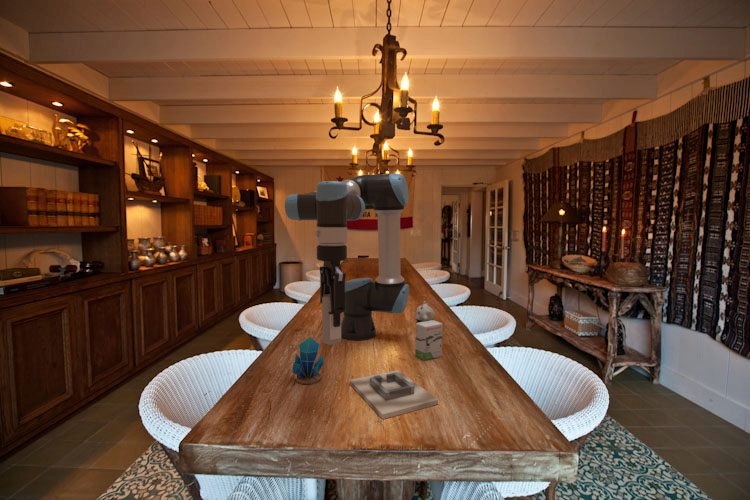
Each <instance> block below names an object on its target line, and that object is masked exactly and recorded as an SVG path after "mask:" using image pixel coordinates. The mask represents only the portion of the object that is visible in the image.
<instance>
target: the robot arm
mask: <svg viewBox="0 0 750 500" xmlns="http://www.w3.org/2000/svg"><path fill="white" fill-rule="evenodd" d="M409 198H410V193H409V186H408V183H407V179H406V178H405V176H404V175H403V174H400V173H381V174H380V173H378V174H377V173H376V174H361V175H357V176H355V177H350V178H348V179H344V180H342V181H339V180H336V181H334V180H333V181H332V180H328V181H327V180H326V181H325V180H324V181H319V182H318V183H317V184H316V190H314V191H310V192H307V193H292V194H289V195H288V196H286V199H285V201H284V212H285V215H286V216H287V218H288V219H290V220H292V221H300V222H301V221H316V231H314V235H315V236H316V243H318V245H317V246H316V259H317V260H318V261H320V262H323V264H322V265H321V266H319V268H318V269H319V283H320V285H319V287H320V289H319V291H320V293H319V298H320V299H319V302H320V304H322V298H323V295H325V294H330V302H331V312H328V313H329V314H330V340H333V339H340V338H341V339H346V340H350V341H351V340H352V341H363V340H369V339H373V338H375V337H376V333H377V329H376V325H375V322H374V319H373V314H372V313H373V312H378V313H386V314H387V313H388V314H402V313H403V312H404V311H405V310H406V308H407V304H408V301H409V298H410V297H409V295H410V285H409V284H407V283H405V282H406V281H405V278H404V277H403V276H402V275H401V274H402V272H401V214H402V212H404V211H405V206H407V205H408V204H409V201H410V200H409ZM366 206H372V207H373V212H374V213H375V214H376V215H377V248H378V251H377V252H378V276H377V277H376V278H375V280H374V281H373V278H371V277H359V278H352V279H350V280H346V276H347V274H346V272H345V271H342V270H343V269H342V266H341V265H342V264H341V261H345V260H347V259H348V247H347V245H346V243H348V222H354V221H358V220H359V219H361V218H362V217H363V215H364V214H365V211H366ZM342 314H343V317H342Z"/></svg>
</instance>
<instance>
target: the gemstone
mask: <svg viewBox="0 0 750 500" xmlns="http://www.w3.org/2000/svg"><path fill="white" fill-rule="evenodd" d="M320 345H321V344H320V343H318V342H317V341H316V340H315V339H313V338H312V336H311V337H308V338H306V339H305V340H304V341H302V342H301V343H299V355H298V354H297V353H296V354H295V357H294V358H295V359H294V361H293V364H292V371H291V373H292V374H294V375H296V376H295V380H296V382H297V383H299V384H301V385H308V386H309V385H313V384H317V383H319V382H320V381H321V380H322V379H321V378H322V375H321V374H320V373H319V371H320V370H322V367H323V366H324V364H325V362H324V354H322V355H320V356H319V357H318V358H317V356H318V353H319V349H320ZM316 359H317V360H316Z"/></svg>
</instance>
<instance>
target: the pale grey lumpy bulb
mask: <svg viewBox="0 0 750 500" xmlns="http://www.w3.org/2000/svg"><path fill="white" fill-rule="evenodd" d="M435 314H436V313H435V310H434V309H433V308H432V307H431V306H429V304H428V301H425V300H424V301H423V303H422V304H421V305H419V306H417V308H416V314H415V319H416V320H418V321H420V322H425V321H431V320H434V318H435Z"/></svg>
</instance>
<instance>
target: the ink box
mask: <svg viewBox="0 0 750 500" xmlns="http://www.w3.org/2000/svg"><path fill="white" fill-rule="evenodd" d="M443 327H444V325H443V323H442V322H440V321H436V320H434V319H432V320H431V321H425V322H422V321H420V322H417V323H415V352H414V354H415V355H414V356H415V357H416V358H418V359H420V360H422V361H427V360H432V359H435V358H439V357H442V355H443Z"/></svg>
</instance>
